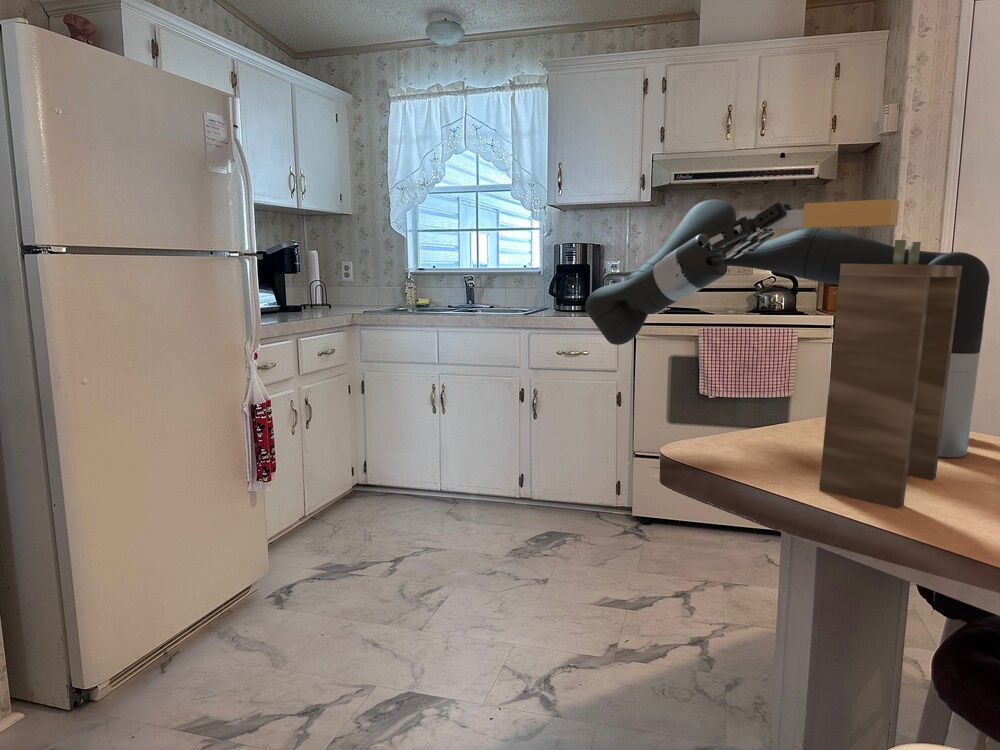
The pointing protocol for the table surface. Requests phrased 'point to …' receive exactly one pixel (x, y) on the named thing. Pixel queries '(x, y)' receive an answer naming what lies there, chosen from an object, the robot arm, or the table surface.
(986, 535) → the table surface
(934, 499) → the table surface
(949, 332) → the shelf
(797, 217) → the two-tone rectangular bar
